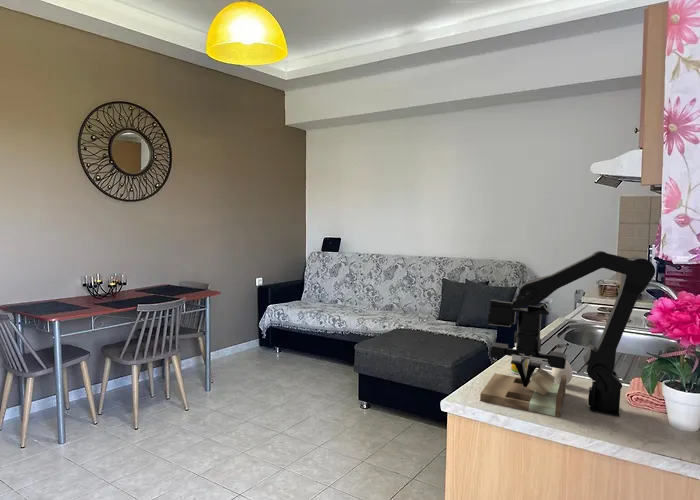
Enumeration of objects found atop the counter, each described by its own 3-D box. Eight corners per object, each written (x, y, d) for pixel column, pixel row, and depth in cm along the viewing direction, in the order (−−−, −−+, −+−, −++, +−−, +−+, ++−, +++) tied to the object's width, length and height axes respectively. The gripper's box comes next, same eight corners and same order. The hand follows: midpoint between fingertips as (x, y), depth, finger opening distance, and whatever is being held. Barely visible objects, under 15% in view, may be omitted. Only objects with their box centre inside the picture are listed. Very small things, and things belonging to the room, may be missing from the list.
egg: (572, 384, 137) (573, 358, 136) (570, 390, 132) (572, 363, 132) (552, 380, 140) (553, 355, 139) (550, 386, 135) (551, 359, 134)
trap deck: (565, 392, 130) (566, 375, 130) (559, 417, 114) (560, 397, 114) (494, 379, 139) (495, 363, 139) (480, 400, 123) (480, 381, 123)
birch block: (546, 390, 126) (555, 377, 125) (544, 396, 122) (553, 382, 121) (530, 380, 128) (539, 367, 126) (528, 385, 124) (537, 371, 122)
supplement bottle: (518, 368, 150) (520, 338, 149) (533, 373, 145) (535, 342, 144) (507, 371, 147) (508, 340, 146) (521, 376, 142) (523, 344, 142)
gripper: (569, 327, 128) (566, 384, 129) (498, 318, 136) (495, 371, 138) (566, 336, 118) (562, 397, 119) (490, 326, 127) (487, 383, 128)
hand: (525, 386), depth 126 cm, fingers closed
